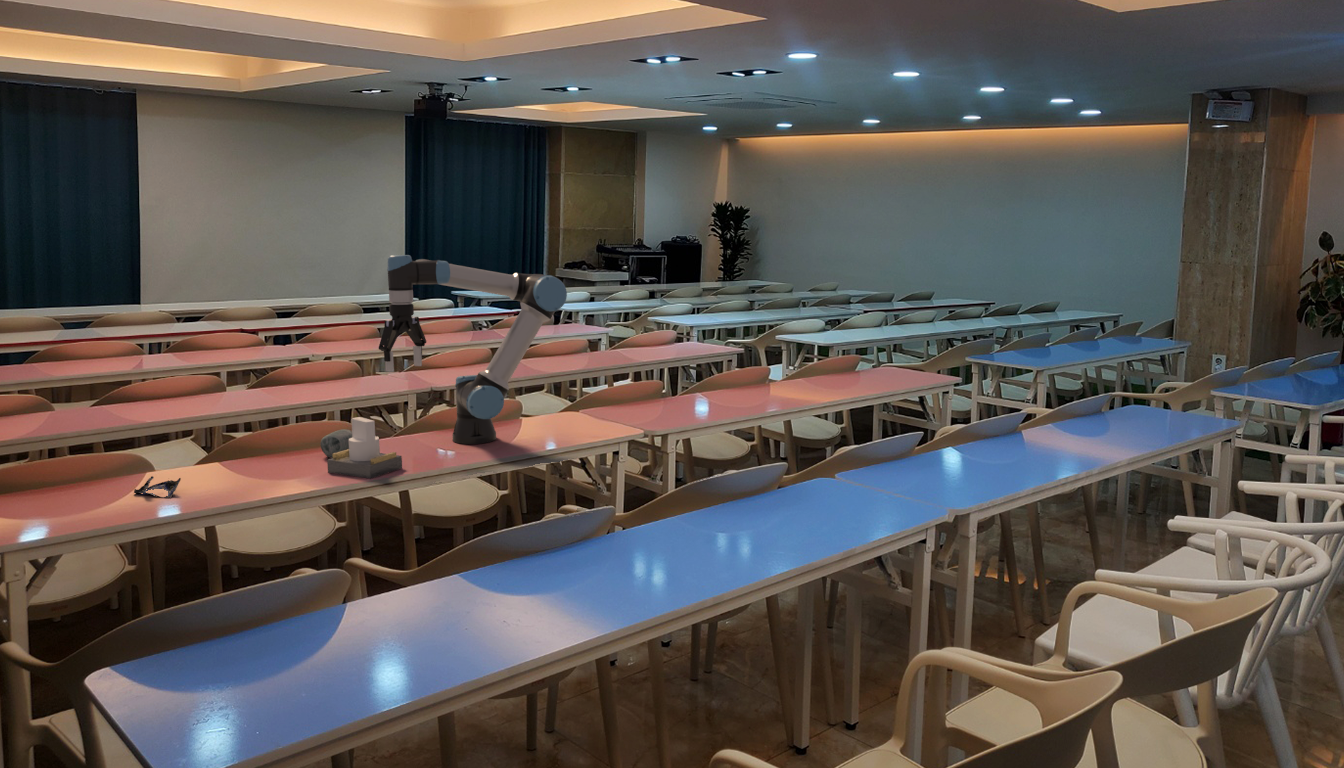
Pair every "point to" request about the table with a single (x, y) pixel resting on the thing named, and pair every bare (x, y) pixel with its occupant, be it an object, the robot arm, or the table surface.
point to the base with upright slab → (363, 440)
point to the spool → (336, 442)
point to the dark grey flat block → (364, 465)
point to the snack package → (159, 487)
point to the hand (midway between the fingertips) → (404, 368)
